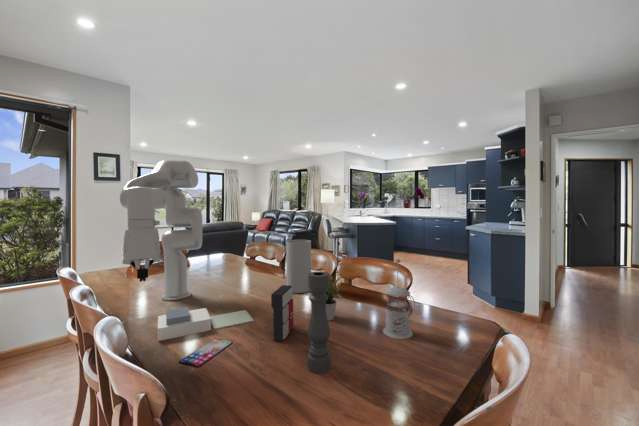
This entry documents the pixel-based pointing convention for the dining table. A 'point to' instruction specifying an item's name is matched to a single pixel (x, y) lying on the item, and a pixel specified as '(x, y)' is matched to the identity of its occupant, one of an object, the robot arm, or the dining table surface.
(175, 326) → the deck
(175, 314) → the tile
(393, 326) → the french press
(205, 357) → the smartphone
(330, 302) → the house plant
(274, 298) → the dark grey box
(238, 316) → the mat
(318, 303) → the candle holder
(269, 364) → the dining table surface
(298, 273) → the cylinder vase
